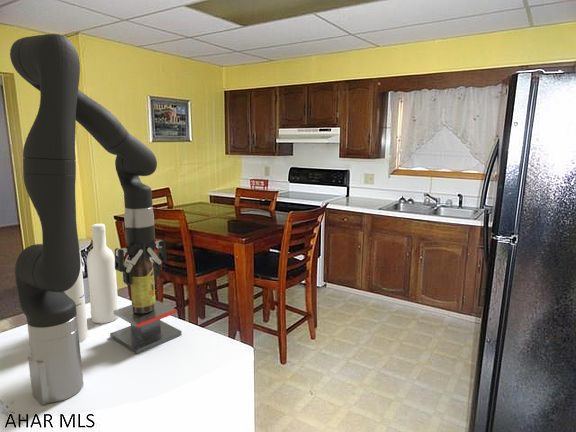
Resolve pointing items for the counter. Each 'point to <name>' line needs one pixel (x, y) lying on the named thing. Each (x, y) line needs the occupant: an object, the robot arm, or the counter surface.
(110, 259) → the bottle
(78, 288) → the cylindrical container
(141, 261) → the sauce bottle
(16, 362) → the counter surface
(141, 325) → the grey piece
